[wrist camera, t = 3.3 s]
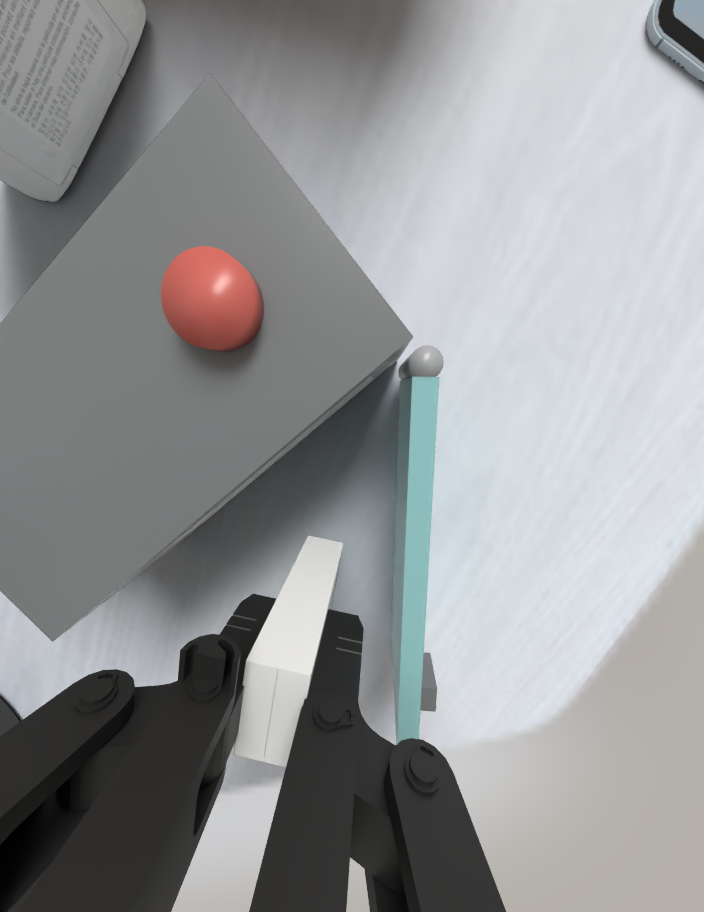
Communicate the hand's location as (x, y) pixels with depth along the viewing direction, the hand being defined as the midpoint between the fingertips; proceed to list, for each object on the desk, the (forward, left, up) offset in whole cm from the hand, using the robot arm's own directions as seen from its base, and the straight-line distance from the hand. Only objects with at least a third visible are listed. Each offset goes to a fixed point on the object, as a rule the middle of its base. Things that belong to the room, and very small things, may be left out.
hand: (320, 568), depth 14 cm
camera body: (-1, +9, -5) cm, 10 cm away
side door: (+4, -2, -4) cm, 6 cm away
